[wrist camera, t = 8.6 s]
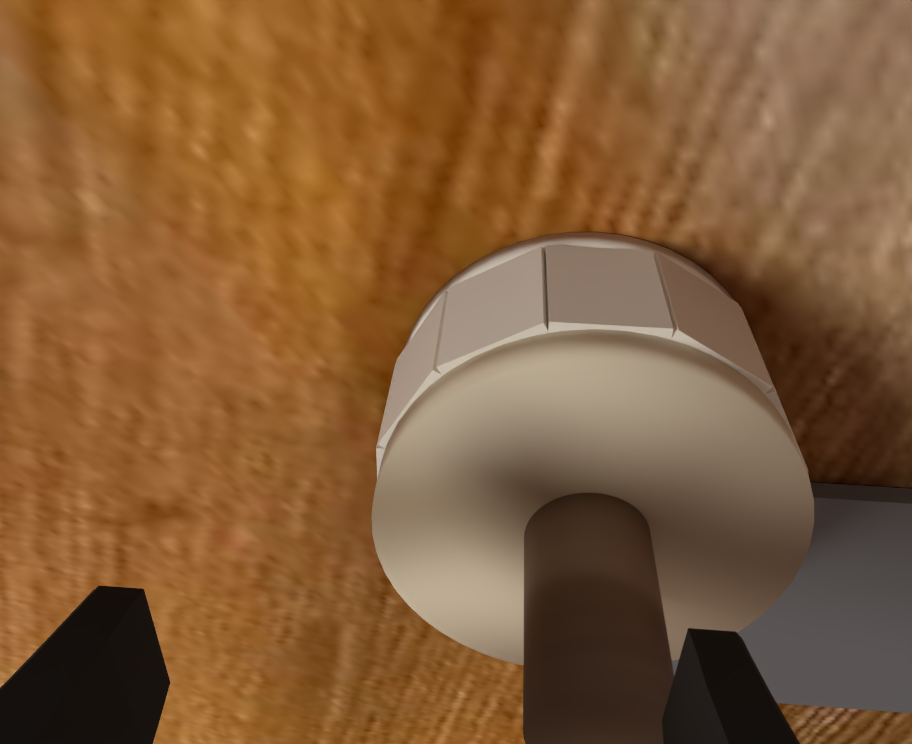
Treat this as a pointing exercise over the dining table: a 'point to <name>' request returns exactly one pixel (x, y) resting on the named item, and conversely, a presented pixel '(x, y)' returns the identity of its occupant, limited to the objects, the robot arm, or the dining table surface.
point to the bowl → (572, 309)
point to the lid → (591, 518)
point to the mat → (844, 607)
